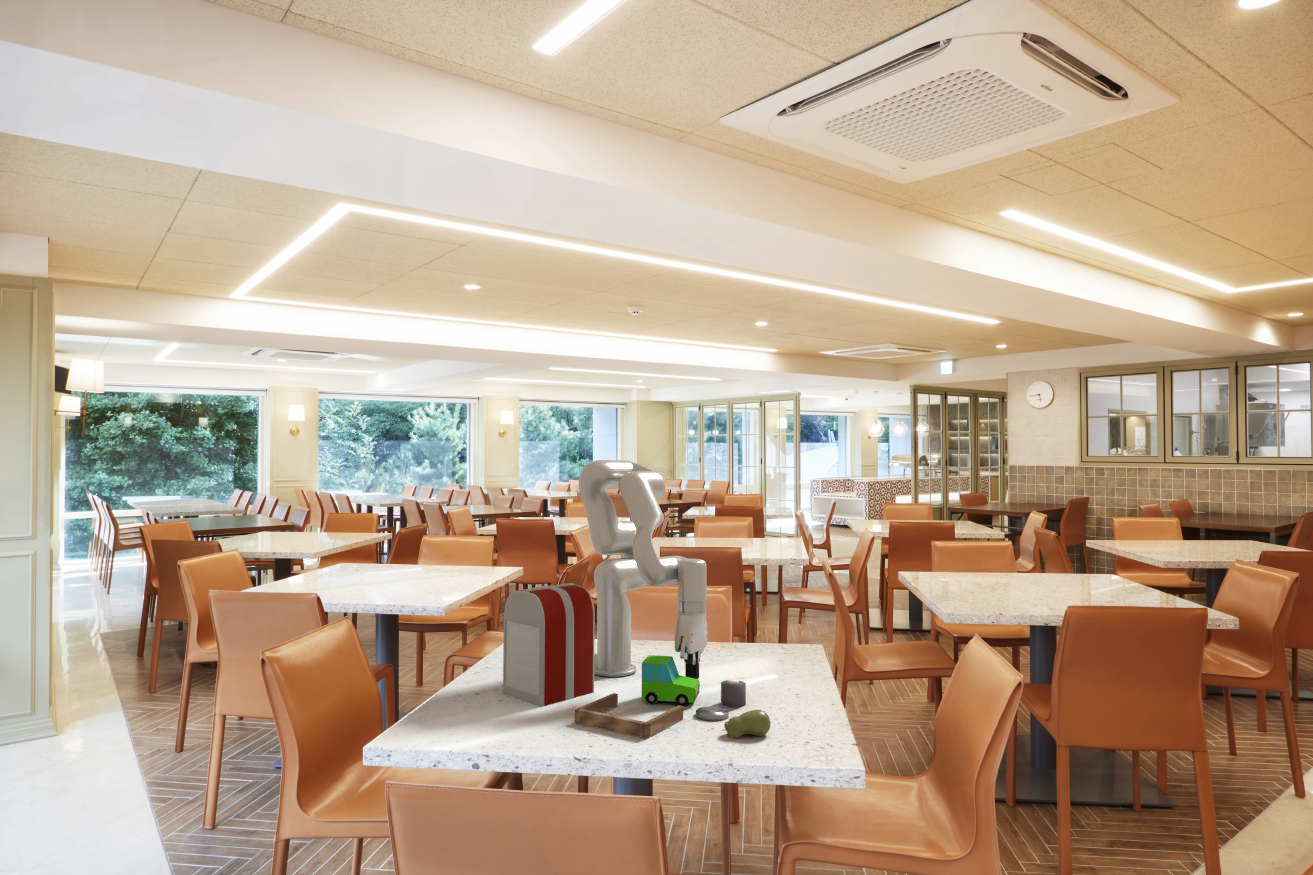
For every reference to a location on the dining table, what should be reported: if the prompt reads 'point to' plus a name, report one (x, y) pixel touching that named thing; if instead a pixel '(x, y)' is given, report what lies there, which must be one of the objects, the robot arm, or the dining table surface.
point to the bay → (596, 718)
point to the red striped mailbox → (549, 644)
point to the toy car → (666, 682)
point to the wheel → (733, 693)
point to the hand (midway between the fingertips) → (692, 678)
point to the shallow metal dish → (712, 713)
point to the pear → (748, 724)
